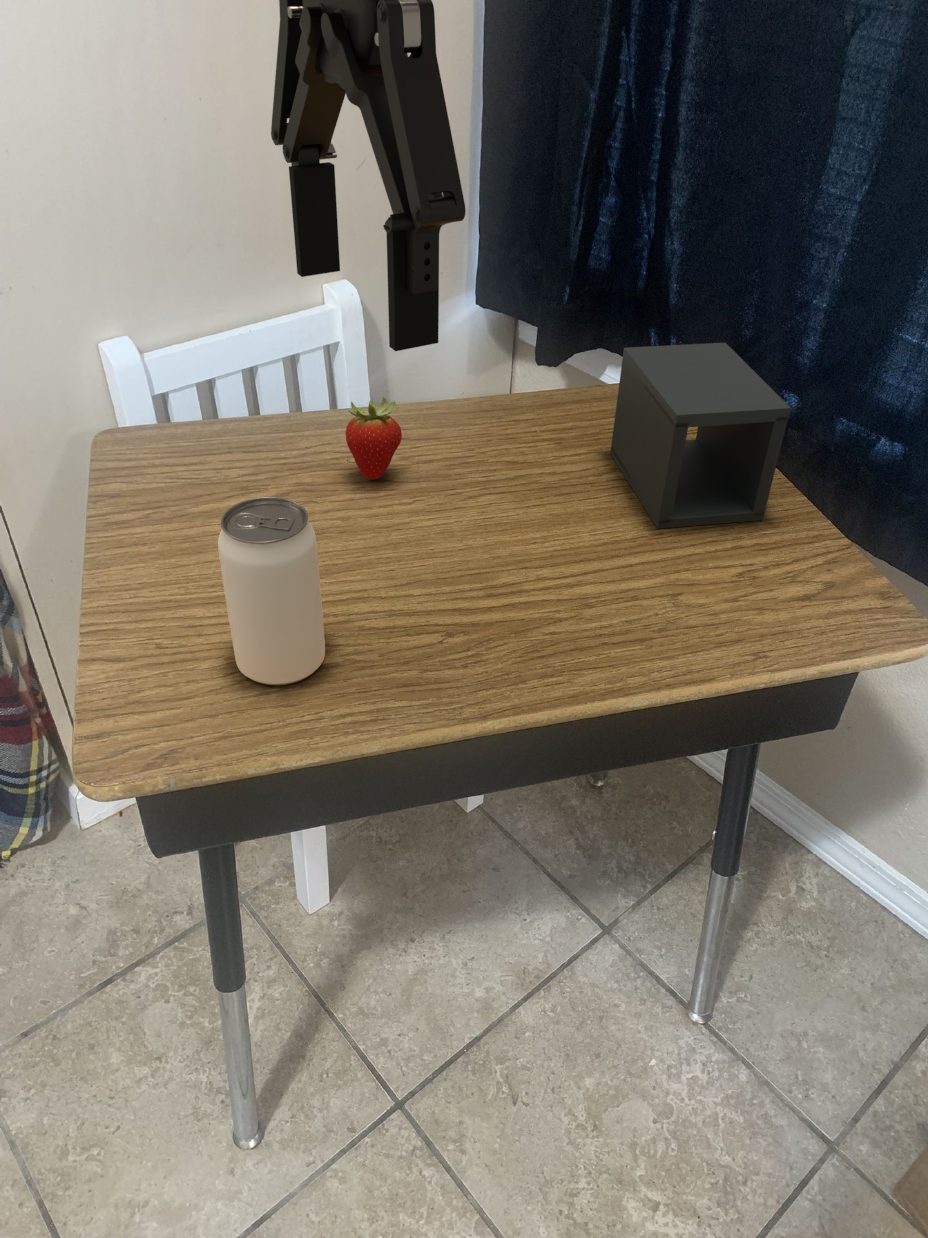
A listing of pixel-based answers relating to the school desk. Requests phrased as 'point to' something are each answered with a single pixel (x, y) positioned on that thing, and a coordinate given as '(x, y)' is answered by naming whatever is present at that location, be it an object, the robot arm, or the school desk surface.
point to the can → (272, 590)
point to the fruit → (373, 438)
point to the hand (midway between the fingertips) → (362, 306)
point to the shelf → (725, 442)
